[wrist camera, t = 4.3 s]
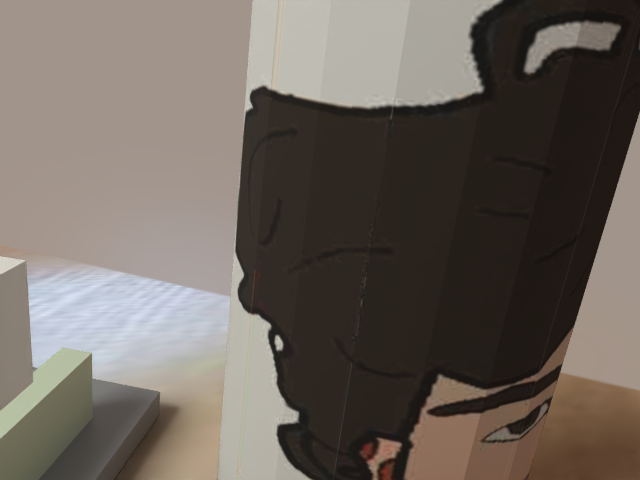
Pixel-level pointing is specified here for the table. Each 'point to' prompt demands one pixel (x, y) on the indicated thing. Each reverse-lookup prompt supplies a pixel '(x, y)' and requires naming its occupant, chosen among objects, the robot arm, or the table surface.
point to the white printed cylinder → (417, 229)
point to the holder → (73, 423)
